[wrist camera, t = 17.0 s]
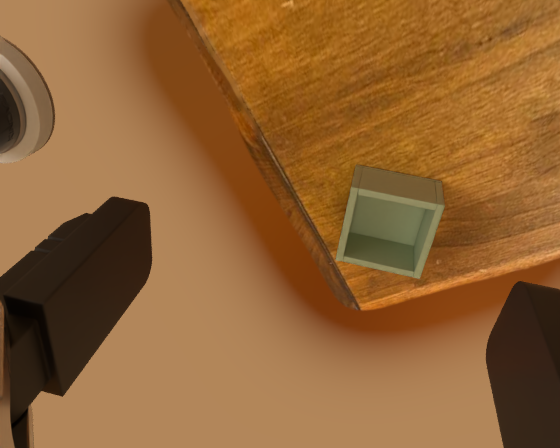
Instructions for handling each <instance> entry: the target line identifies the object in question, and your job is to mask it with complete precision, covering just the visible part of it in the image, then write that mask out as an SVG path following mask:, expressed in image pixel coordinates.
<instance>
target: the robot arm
mask: <svg viewBox="0 0 560 448" xmlns="http://www.w3.org/2000/svg"><path fill="white" fill-rule="evenodd" d="M25 131H26V113H25V108H24V105H23V102H22V100H21V97H20V95H19V93H18V91H17V90H16V88H15V86H14V85H13V83H12V82H11V81H10V79H9V78H8V77H7V76H6V75H5V73H4V72H3V71H2V70H1V69H0V154H1V153H4V152H7V151H9V150H11V149H13V148H14V147H16V146H17V145H18V144H19V143H20V142H21V140H22V139H23V137H24V135H25ZM151 264H152V247H151V227H150V211H149V207H148V205H147V204H146V203H143V202H138V201H134V200H129V199H124V198H119V197H111V198H109V199H108V200H107V201H106V202H105V203H104V204H103V205H102V206H100V207H99V208H98V209H97V210H96V211H95V212H94V213H93V214H88V213H85V214H83V215H81V216H78V217H76V218H74V219H72V220H69V221H67V222H65V223H63V224H62V225H61V226H60V227H59V228H58V229H56V230H55V231H54V232H53V233H51V234H50V235H49V236H48V239H45V240H43V241H42V242H41V243H40V244H39V245H38V246H37V247H35V250H34V251H30V252H29V253H28V254H27V255H26V256H25V257H23V258H22V259H21V260H20V261H19V262H18V263H16V264H15V265H14V266H13V267H12V268H10V269H9V270H8V271H7V272H6V273H5V274H3V275H2V276H1V277H0V448H34V437H33V414H32V408H31V403H32V402H33V400H34V399H35V398H36V397H37V395H38V394H39V393H40V392H41V391H44V392H47V393H51V394H55V395H59V396H62V397H63V396H64V394H65V393H66V391H67V390H68V389H69V388H70V386H71V385H72V383H73V382H74V381H75V379H76V378H77V376H78V375H79V374H80V372H81V371H82V370H83V368H84V367H85V366H86V364H87V363H88V361H89V360H90V359H91V357H92V356H93V355H94V353H95V352H96V351H97V349H98V348H99V346H100V345H101V344H102V342H103V341H104V340H105V338H106V337H107V336H108V334H109V333H110V331H111V330H112V329H113V327H114V326H115V325H116V323H117V322H118V320H119V319H120V318H121V316H122V315H123V314H124V312H125V311H126V310H127V308H128V307H129V305H130V304H131V302H132V301H133V300H134V298H135V297H136V296H137V294H138V293H139V292H140V290H141V289H142V288H143V286H144V285H145V283H146V281H147V279H148V277H149V274H150V270H151ZM486 364H487V369H488V374H489V379H490V383H491V389H492V393H493V398H494V403H495V407H496V413H497V417H498V422H499V427H500V432H501V436H502V441H503V446H504V448H560V290H559V289H556V288H551V287H546V286H542V285H537V284H532V283H527V282H522V281H519V282H517V283H516V284H515V285H514V286H513V288H512V290H511V292H510V294H509V296H508V298H507V300H506V302H505V304H504V306H503V308H502V310H501V313H500V315H499V317H498V319H497V321H496V323H495V325H494V327H493V329H492V331H491V334H490V336H489V339H488V343H487V349H486Z"/></svg>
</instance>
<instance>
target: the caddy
mask: <svg viewBox="0 0 560 448" xmlns="http://www.w3.org/2000/svg"><path fill="white" fill-rule="evenodd" d="M444 207H445V203H444V196H443V188H442V181H438V180H433V179H428V178H422V177H417V176H412V175H407V174H402V173H397V172H392V171H387V170H382V169H377V168H371V167H366V166H361V165H356V167H355V172H354V176H353V181H352V185H351V190H350V194H349V199H348V204H347V208H346V213H345V218H344V222H343V227H342V232H341V236H340V241H339V245H338V250H337V255H336V260H338V261H343V262H347V263H351V264H356V265H360V266H365V267H369V268H373V269H378V270H382V271H387V272H391V273H396V274H400V275H405V276H409V277H414V278H418V279H420V277H421V274H422V271H423V268H424V265H425V262H426V259H427V256H428V254H429V251H430V248H431V245H432V242H433V239H434V236H435V233H436V231H437V228H438V225H439V222H440V219H441V216H442V213H443V210H444Z"/></svg>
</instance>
